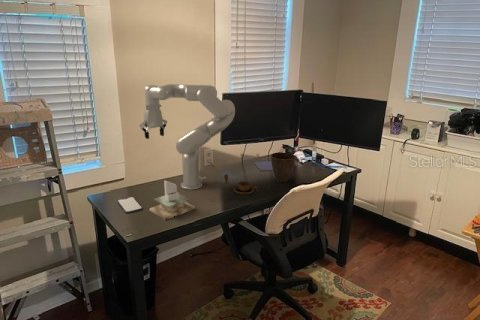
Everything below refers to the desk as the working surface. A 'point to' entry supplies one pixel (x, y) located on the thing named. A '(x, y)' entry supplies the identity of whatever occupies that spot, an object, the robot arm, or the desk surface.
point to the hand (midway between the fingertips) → (154, 137)
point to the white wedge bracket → (170, 191)
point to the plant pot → (282, 165)
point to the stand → (171, 207)
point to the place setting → (242, 186)
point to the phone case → (129, 205)
